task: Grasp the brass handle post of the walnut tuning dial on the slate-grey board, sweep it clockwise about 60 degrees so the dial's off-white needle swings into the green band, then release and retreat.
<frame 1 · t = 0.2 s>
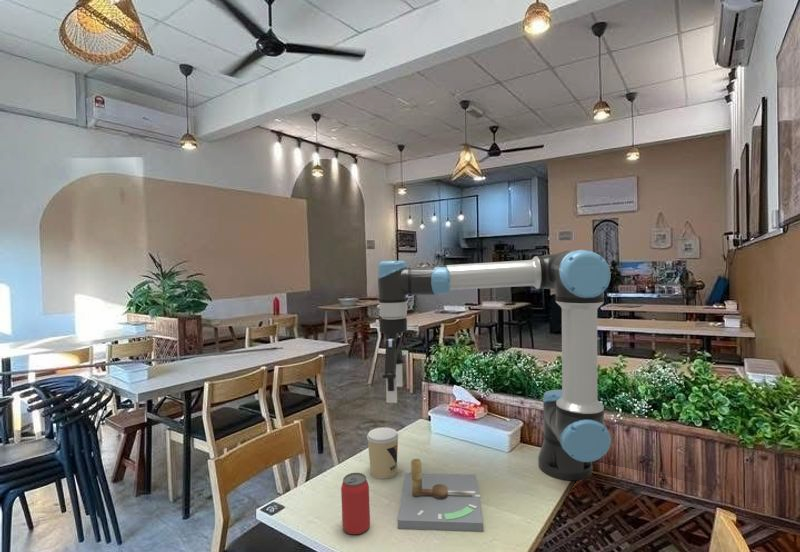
hand: (395, 394, 116), 27 cm above the table, fingers open, 13 cm apart
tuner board: (440, 502, 110), on the table
coffee cup: (383, 473, 127), on the table
peg dial: (442, 477, 110), point 7 cm above the table, hinge at 0.0°
beer can: (356, 527, 101), on the table
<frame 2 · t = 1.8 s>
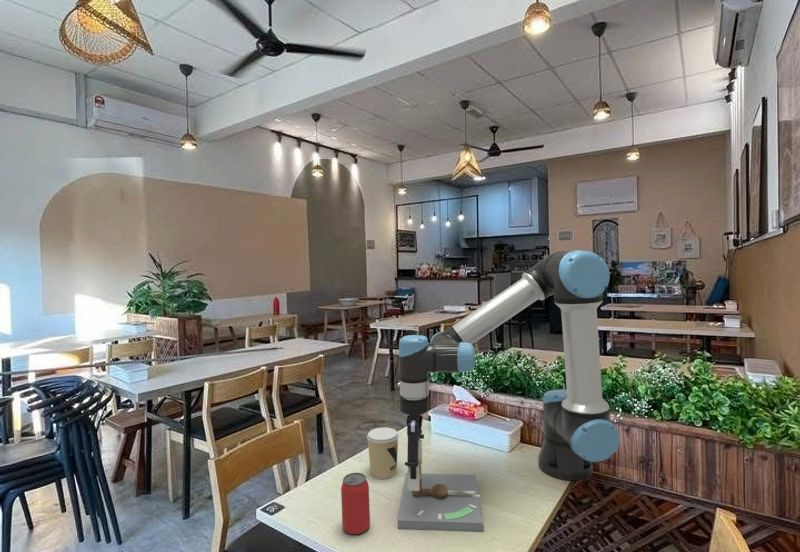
hand: (415, 475, 111), 7 cm above the table, fingers open, 13 cm apart
nothing on the table moved.
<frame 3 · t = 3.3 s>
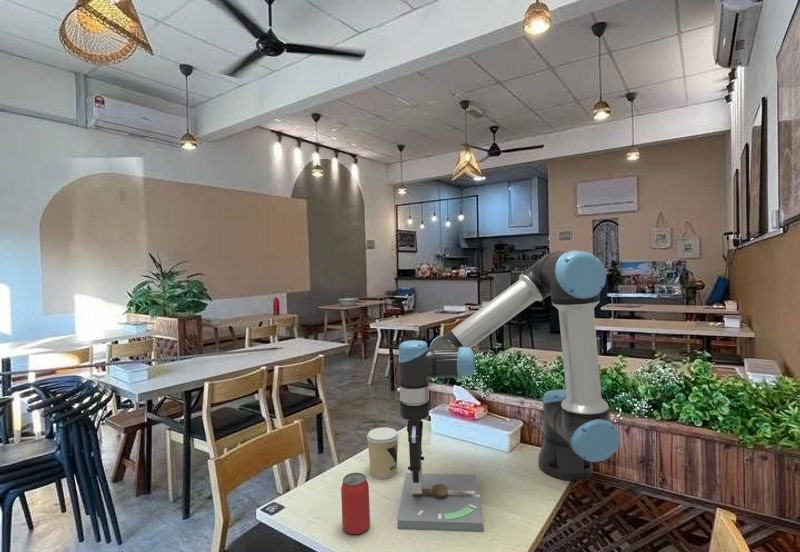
hand: (417, 489, 111), 4 cm above the table, fingers closed on peg dial, 3 cm apart
peg dial: (442, 477, 110), point 7 cm above the table, hinge at 0.0°, touching gripper
everything else where it was.
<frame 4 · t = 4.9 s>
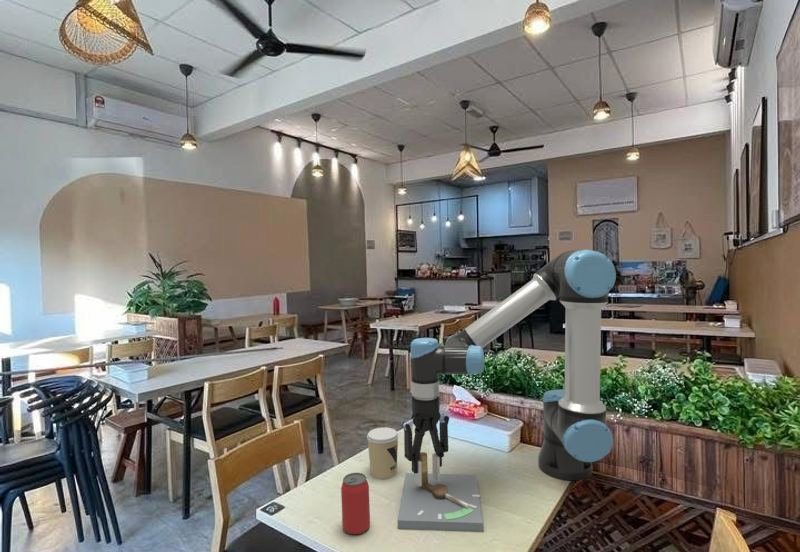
hand: (427, 481, 115), 4 cm above the table, fingers open, 5 cm apart
peg dial: (442, 478, 109), point 7 cm above the table, hinge at -40.3°, touching gripper
everything else where it was.
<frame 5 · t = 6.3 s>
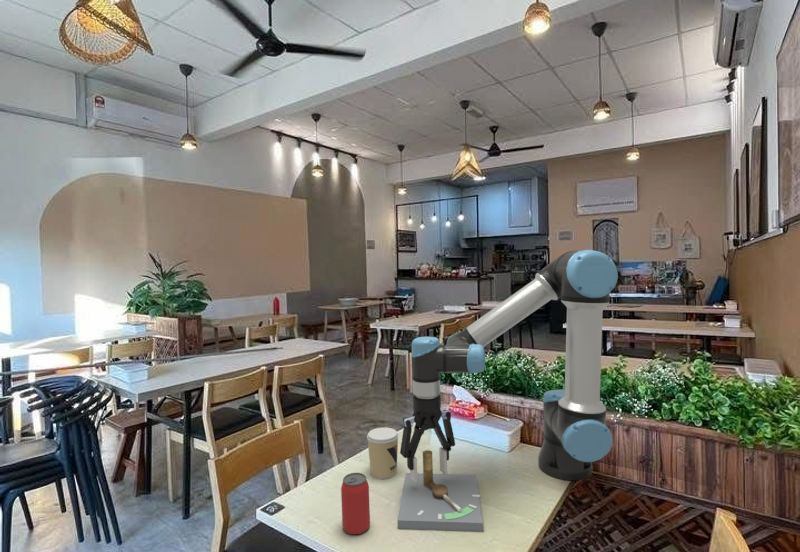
hand: (429, 476, 116), 4 cm above the table, fingers open, 8 cm apart
peg dial: (441, 479, 109), point 7 cm above the table, hinge at -57.4°
everything else where it was.
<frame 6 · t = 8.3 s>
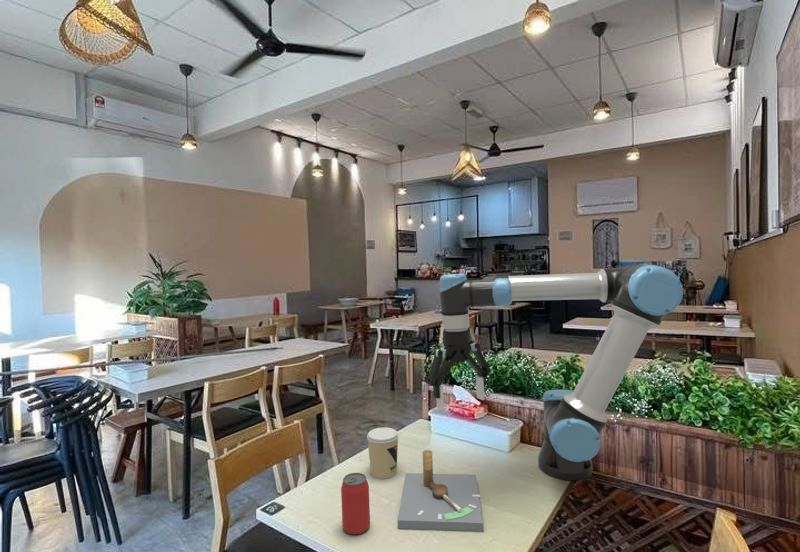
hand: (461, 404, 119), 23 cm above the table, fingers open, 13 cm apart
nothing on the table moved.
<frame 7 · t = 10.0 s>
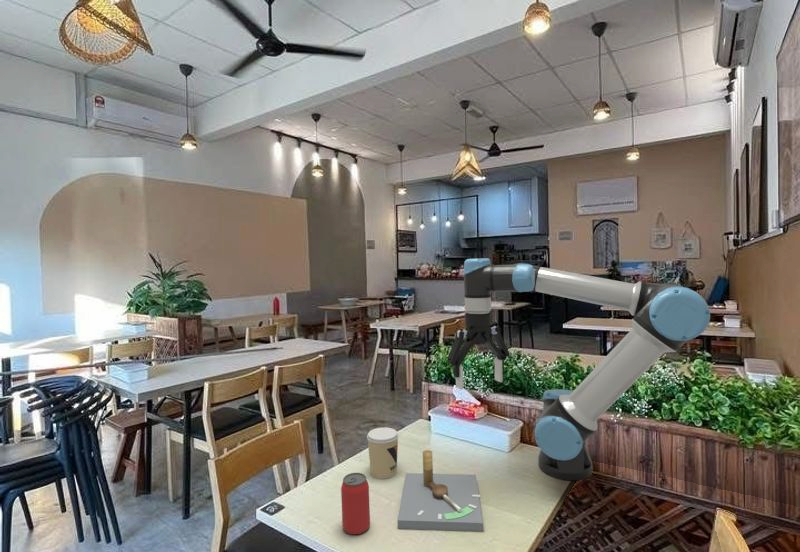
hand: (479, 384, 123), 27 cm above the table, fingers open, 13 cm apart
nothing on the table moved.
at the end: peg dial at -57° (first picture: +0°); the gripper is holding nothing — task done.
